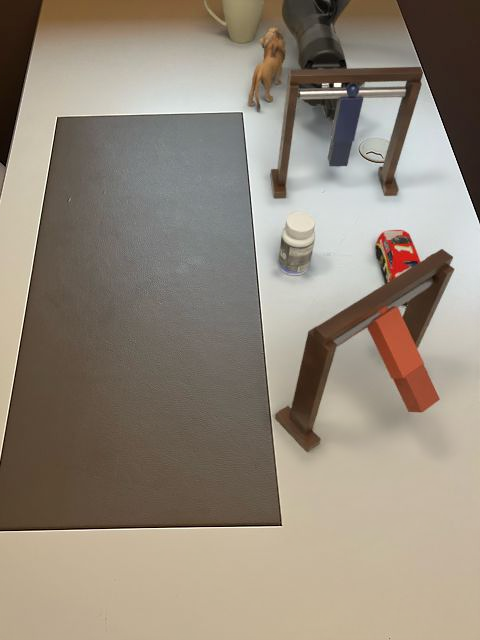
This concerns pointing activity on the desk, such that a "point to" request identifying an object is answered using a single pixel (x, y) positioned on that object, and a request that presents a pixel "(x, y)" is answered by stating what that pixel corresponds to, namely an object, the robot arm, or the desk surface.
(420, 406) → the two-tone orange prism
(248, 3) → the mug
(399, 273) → the race car
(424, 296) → the near rack
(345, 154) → the far pendulum
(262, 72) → the lion figurine
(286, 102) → the far rack
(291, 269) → the pill bottle
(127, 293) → the desk surface
